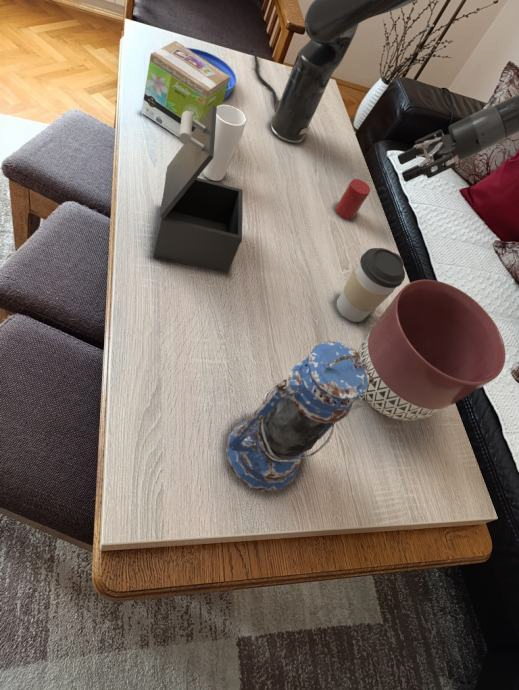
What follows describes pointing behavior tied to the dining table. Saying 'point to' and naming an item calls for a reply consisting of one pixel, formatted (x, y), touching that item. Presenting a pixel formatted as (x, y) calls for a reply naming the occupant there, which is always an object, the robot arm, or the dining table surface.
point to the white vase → (225, 140)
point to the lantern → (296, 416)
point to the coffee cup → (370, 283)
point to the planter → (429, 351)
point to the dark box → (202, 227)
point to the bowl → (220, 65)
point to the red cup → (352, 199)
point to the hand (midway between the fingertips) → (400, 168)
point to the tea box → (181, 86)
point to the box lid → (189, 157)
